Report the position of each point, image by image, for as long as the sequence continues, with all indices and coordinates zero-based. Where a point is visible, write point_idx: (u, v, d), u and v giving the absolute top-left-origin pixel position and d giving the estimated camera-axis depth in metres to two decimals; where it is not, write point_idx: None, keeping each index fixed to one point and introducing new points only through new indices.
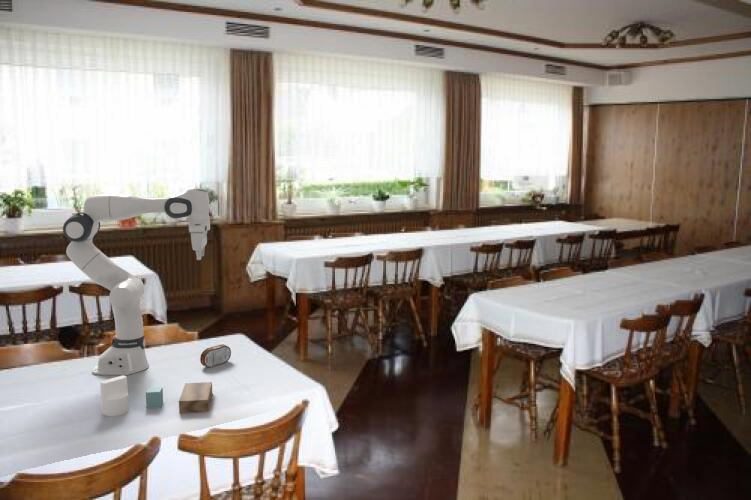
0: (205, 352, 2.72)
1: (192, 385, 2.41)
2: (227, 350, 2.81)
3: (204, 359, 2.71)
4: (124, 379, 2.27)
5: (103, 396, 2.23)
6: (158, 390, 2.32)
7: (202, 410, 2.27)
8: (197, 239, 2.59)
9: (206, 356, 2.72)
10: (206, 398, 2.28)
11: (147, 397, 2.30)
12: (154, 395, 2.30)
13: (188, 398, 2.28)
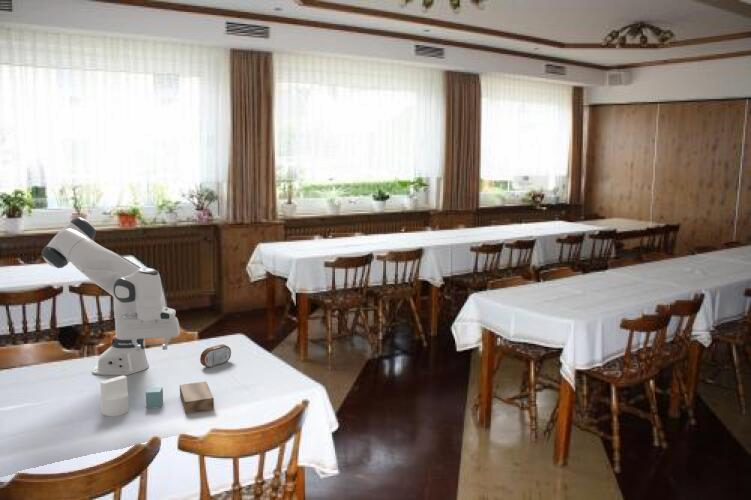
0: (205, 352, 2.72)
1: (188, 386, 2.40)
2: (227, 350, 2.81)
3: (204, 359, 2.71)
4: (124, 379, 2.27)
5: (103, 396, 2.23)
6: (158, 390, 2.32)
7: (208, 409, 2.28)
8: (178, 324, 2.30)
9: (206, 356, 2.72)
10: (211, 396, 2.30)
11: (147, 397, 2.30)
12: (154, 395, 2.30)
13: (192, 398, 2.28)
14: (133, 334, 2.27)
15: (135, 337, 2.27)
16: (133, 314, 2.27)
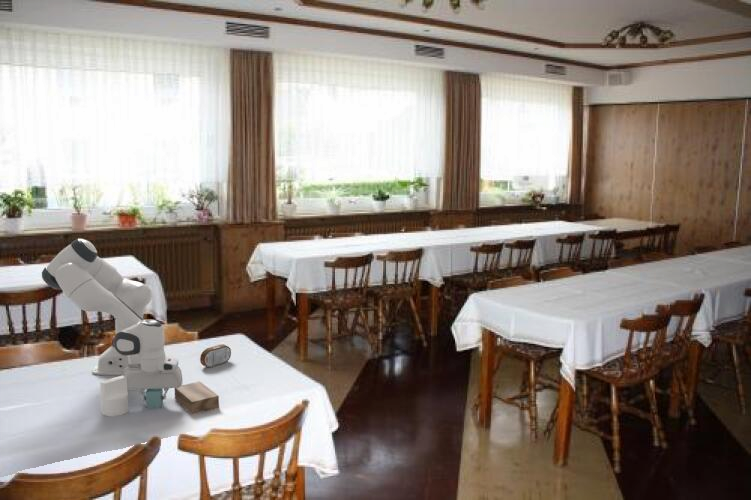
0: (205, 352, 2.72)
1: (184, 387, 2.39)
2: (227, 350, 2.81)
3: (204, 359, 2.71)
4: (124, 379, 2.27)
5: (103, 396, 2.23)
6: (158, 390, 2.32)
7: (213, 407, 2.30)
8: (180, 373, 2.33)
9: (206, 356, 2.72)
10: (215, 394, 2.31)
11: (147, 397, 2.30)
12: (154, 394, 2.30)
13: (197, 397, 2.29)
14: (137, 385, 2.30)
15: (138, 388, 2.30)
16: (136, 365, 2.30)
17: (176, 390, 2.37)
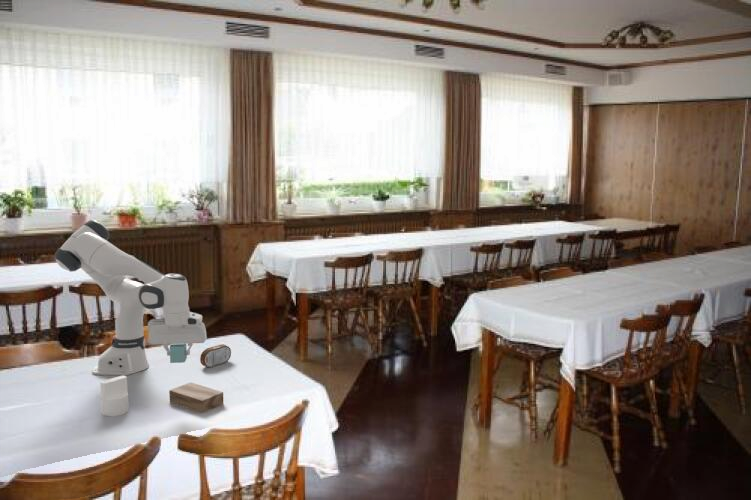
0: (205, 352, 2.72)
1: (180, 389, 2.37)
2: (227, 350, 2.81)
3: (204, 359, 2.71)
4: (124, 379, 2.27)
5: (103, 396, 2.23)
6: (182, 345, 2.30)
7: (219, 404, 2.33)
8: (204, 329, 2.31)
9: (206, 356, 2.72)
10: (219, 391, 2.34)
11: (171, 352, 2.28)
12: (178, 349, 2.28)
13: (203, 396, 2.30)
14: (161, 339, 2.28)
15: (162, 342, 2.28)
16: (160, 319, 2.28)
17: (173, 393, 2.35)
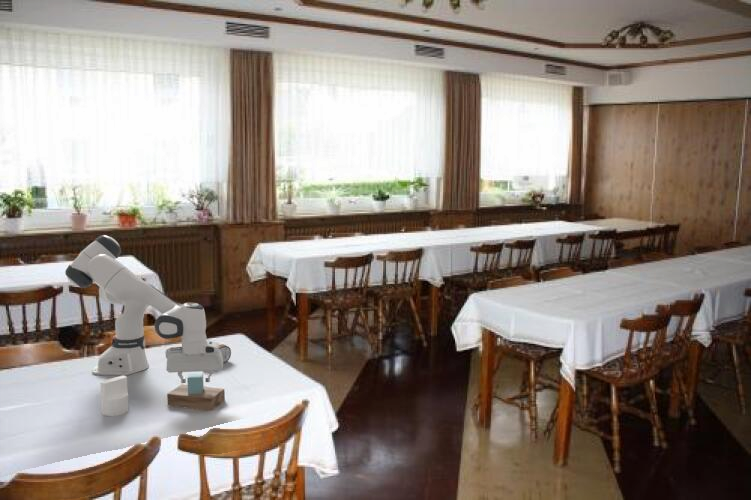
0: None
1: (178, 391, 2.35)
2: (227, 350, 2.81)
3: None
4: (124, 379, 2.27)
5: (103, 396, 2.23)
6: (199, 376, 2.33)
7: (222, 400, 2.36)
8: (221, 356, 2.35)
9: None
10: (220, 389, 2.37)
11: (189, 383, 2.31)
12: (195, 381, 2.32)
13: (208, 395, 2.31)
14: (178, 367, 2.31)
15: (180, 370, 2.31)
16: (178, 348, 2.31)
17: (172, 396, 2.32)
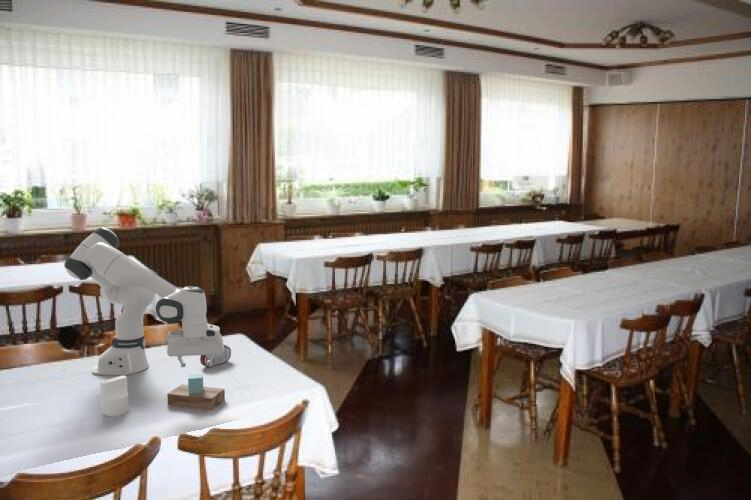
0: None
1: (178, 391, 2.35)
2: (227, 350, 2.81)
3: (204, 359, 2.71)
4: (124, 379, 2.27)
5: (103, 396, 2.23)
6: (200, 376, 2.33)
7: (222, 400, 2.36)
8: (222, 340, 2.34)
9: (206, 356, 2.72)
10: (220, 389, 2.37)
11: (189, 383, 2.31)
12: (196, 381, 2.32)
13: (208, 395, 2.31)
14: (179, 351, 2.30)
15: (181, 354, 2.31)
16: (179, 332, 2.30)
17: (172, 396, 2.32)
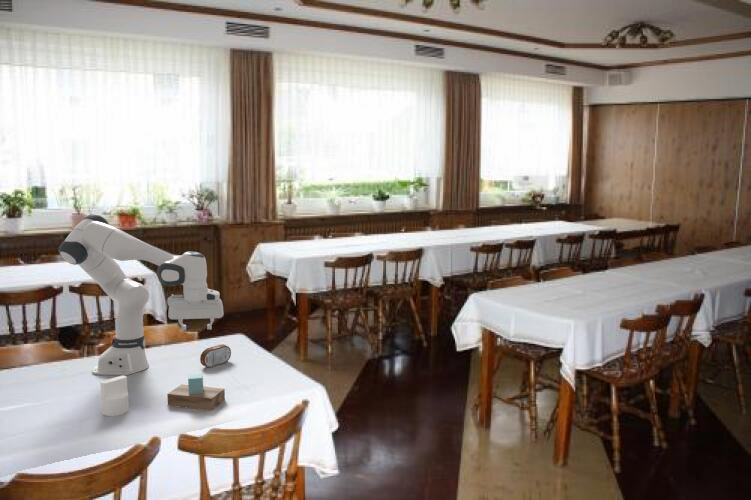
0: (205, 352, 2.72)
1: (178, 391, 2.35)
2: (227, 350, 2.81)
3: (204, 359, 2.71)
4: (124, 379, 2.27)
5: (103, 396, 2.23)
6: (200, 376, 2.33)
7: (222, 400, 2.36)
8: (222, 305, 2.41)
9: (206, 356, 2.72)
10: (220, 388, 2.37)
11: (189, 383, 2.31)
12: (196, 381, 2.32)
13: (209, 395, 2.31)
14: (180, 314, 2.37)
15: (182, 317, 2.37)
16: (180, 295, 2.37)
17: (172, 396, 2.32)
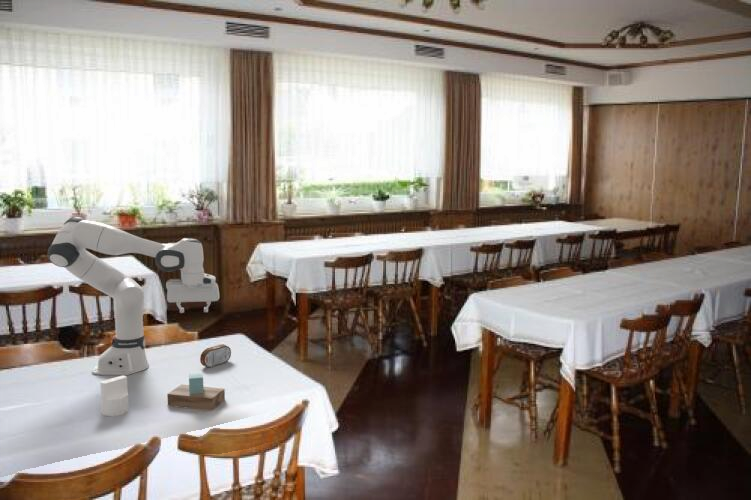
0: (205, 352, 2.72)
1: (178, 391, 2.34)
2: (227, 350, 2.81)
3: (204, 359, 2.71)
4: (124, 379, 2.27)
5: (103, 396, 2.23)
6: (200, 376, 2.34)
7: (222, 400, 2.37)
8: (218, 288, 2.53)
9: (206, 356, 2.72)
10: (220, 388, 2.38)
11: (190, 383, 2.31)
12: (197, 381, 2.32)
13: (209, 394, 2.31)
14: (178, 298, 2.50)
15: (180, 300, 2.50)
16: (178, 279, 2.50)
17: (172, 396, 2.32)
